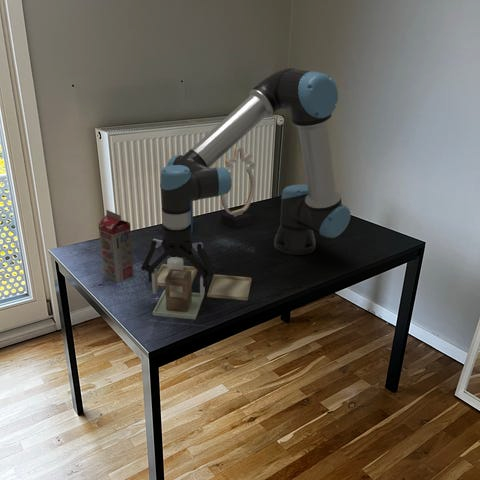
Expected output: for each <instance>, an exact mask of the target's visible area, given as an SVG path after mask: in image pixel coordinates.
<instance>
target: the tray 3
mask: <svg viewBox="0 0 480 480" xmlns="http://www.w3.org/2000/svg"><path fill="white" fill-rule="evenodd" d="M252 280H253V279H252V277H249V276H235V275H225V274H224V275H223V274H214V275H213V276H212V280H211V282H210V285H209V288H208V291H207V294H206V297H207V298H214V299H225V300H226V299H227V300H236V301H237V300H238V301H248V300H249V294H250V291H251V290H250V289H251V285H252V282H253V281H252Z"/></svg>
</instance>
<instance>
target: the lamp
mask: <svg viewBox="0 0 480 480" xmlns="http://www.w3.org/2000/svg"><path fill="white" fill-rule="evenodd" d="M244 152H245V151H244V148H243V147H241V146H236V147H235V148H234V152H233V158H231V157H227V158H226V159H225V165H226V166H225V167H224V168H226V169H227V170H228V171H229V170H231V169H233V168H234V165H233V163H234V164H236V163H237V162H238V160H239V158H240V160H241V163H244V164H246V165H250V166H248V167H246V172H247V174H248V177H249V181H250V188H249V193H248V198H247V200H246V202H245V204H244V206H243V207H242V208H239V209H237V208H236V209H233V210H230V209H229V208H228V205H227V202H226V197H225V196H226V194H224V195H220V200H221V205H222V207H223V209H224V211H225V212H224V213H221V216H220V217H221V219H220V222H221V223H222V224H224V225H226V226H228V227H230V228H232V229H235V230H237V229H240V228H243V227H246V226H250V225H252V220H253V219H252V218H253V215H252V214H249V213H247V212H246V211H247V210H248V209H249V207H250V205H251V203H252V200H253V198H254V193H255V186H256V184H255V183H256V182H255V177H254V174H253V173H254V172H252V171H253V170H254V169H255V168H256V164H255V162H254V161H251V159H252V158H253V154H252V153H249V152H247V153H244ZM229 173H230V176H231V175H232V172H230V171H229ZM231 177H232V176H231Z"/></svg>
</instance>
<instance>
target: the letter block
mask: <svg viewBox="0 0 480 480" xmlns="http://www.w3.org/2000/svg"><path fill="white" fill-rule="evenodd" d="M164 288H165V289H164V290H165V291H166V310H168V311H179V312H188V309H189V307H190V304H191V302H192V293H193V292H192V291H193V283H192V280H191V271H188V270H176V269H170V271H169V273H168V275H167V277H166V278H165V286H164Z"/></svg>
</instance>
